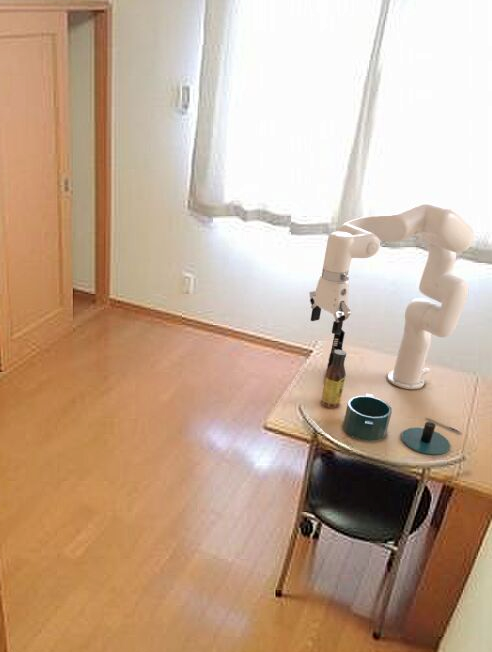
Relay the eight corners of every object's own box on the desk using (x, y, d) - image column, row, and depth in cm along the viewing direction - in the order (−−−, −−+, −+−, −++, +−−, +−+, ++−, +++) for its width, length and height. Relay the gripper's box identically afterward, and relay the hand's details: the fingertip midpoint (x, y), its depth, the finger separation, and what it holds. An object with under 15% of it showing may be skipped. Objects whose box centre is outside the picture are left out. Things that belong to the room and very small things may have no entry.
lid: (446, 435, 209) (452, 416, 205) (451, 460, 197) (457, 441, 193) (400, 427, 212) (405, 408, 208) (401, 451, 200) (407, 432, 197)
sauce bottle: (340, 410, 220) (351, 358, 210) (321, 407, 221) (331, 356, 211) (339, 400, 226) (349, 349, 215) (320, 398, 227) (330, 347, 216)
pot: (385, 418, 216) (390, 395, 212) (385, 450, 201) (392, 426, 196) (344, 411, 219) (348, 388, 215) (341, 442, 204) (347, 418, 199)
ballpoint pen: (459, 433, 210) (460, 430, 209) (458, 434, 209) (459, 431, 209) (428, 419, 216) (428, 417, 216) (426, 420, 216) (427, 418, 215)
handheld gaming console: (326, 368, 245) (336, 320, 235) (339, 371, 243) (349, 322, 233) (323, 383, 235) (333, 334, 225) (336, 386, 234) (346, 336, 223)
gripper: (365, 282, 190) (354, 335, 199) (324, 263, 203) (316, 313, 212) (345, 286, 187) (335, 339, 195) (306, 267, 200) (297, 318, 209)
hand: (325, 326), depth 204 cm, fingers open, 9 cm apart
